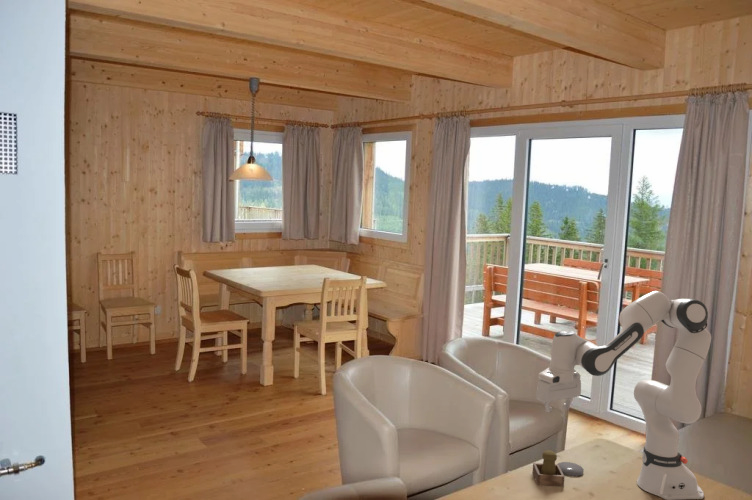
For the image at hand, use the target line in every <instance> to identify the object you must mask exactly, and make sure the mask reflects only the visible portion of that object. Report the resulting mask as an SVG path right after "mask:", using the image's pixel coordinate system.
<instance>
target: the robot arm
mask: <svg viewBox="0 0 752 500" xmlns="http://www.w3.org/2000/svg"><path fill="white" fill-rule="evenodd" d="M708 312H709V311H708V308H707V306H706V305H705V303H703V302H702V301H701V300H698V299H695V298H677V299H669V297H668V296H667V295H666V294H665V293H663V292H661V291H660V290H659V291H658V290H653V291H651V292H648V293H646V294H644V295H642V296H640V297H638V298H636V299H635V300H634V301H632V302H630V303H629V304H628V305H626V306H625V307H624V308H623V309H622V310H621V311H620V313H619V317H618V319H619V325H620V327H621V331H619V333H618V334H617V335H615V336H614V337H613V338H612V339H611V340H610V341H609V342H607V343H606V344H605V345H602V346H599V345H597V344H595V343H594V342H591V341H590V340H588V339H585V338H583V337H581V336H580V335H578V334H576V332H575V331H572V330H560V331H558V332H556V333H555V334H554V336H553V338H552V340H551V342H552V343H551V347H550V348H551V349H550V356H551V357H550V361H549V367H547V368H546V369H543V370H542V371H540V372H539V373H538V375H537V377H538V379H539V380H538V381H537V384H536V391H535V398H536V400H537V401H539V402H541V403H543V405H544V407H545V409H544V411H545V412H546V413H552V407H551V406H550V404H551V402H554V401H561V400H565V402H564V403H563V406H562V408H563V409H564V410H569V409H570V405H571V404H572V402H573V399H574V398H578V397H580V396H581V393H582V381H581V374H580V373H579V372H578V371H575V367H576V366H580V367H581V368H583V369H584V370H585V371H586V372H587V373H588V374H590V375H592V376H596V377H600V376H604V375H605V374H607V373H608V372H609V371H611V369H612V368H613V366H614V364H615V363H616V361H618V360H619V359H620V358H621V357H622V356H623V355H624V354H625V353H627V352H628V351H629V350H630V349H632V347H634V346H635V345H636V344H637V343H638V342H639V341H640V340H641V339H642V338H643V336H644V334H645V333H646V332H647V331H648V330H650V329H651V328H652V327H653V326H655V325H656V324H657V323H659V322H661V323H662V324H664V325H665V326H667V327H669V328H671V329H673V328H674V329H677V331H678V337H677V340H676V342H675V343H674V346H673V347H672V350H671V352H670V353H669V356H668V358H667V360H666V362H665V369H666V371H667V372H668V374H669V375H670V382H669V385H667V384H665V383H663V382H660V381H658V380H654V379H645V378H644V379H641V380H640V381H638V382H637V383H636V385H635V386H634V389H633V398H634V400H635V401H636V403H637V404H638V406H639V407H640V409H641V412H642V415H643V417H644V422H645V431H646V432H645V444H644V445H645V446H643V452H642V466H641V469H640V472H639V476H638V478H637V480H636V484H637V486H638V487H639V488H640V489H641V490H643V491H645V492H648V494H649V493H650V494H652V495H655V496H658V497H660V498H662V499H663V500H696V499H697V500H702V499H704V497H705V496H704V495H705V494H704V491H703V490H702V488H701V487H700V486H699V485H698V481H697V477H696V476H695V474H694V473H693V472H692V471H691V470H690V469H689V468H688V467H687V466H686V464H687V463H688V462H689V461H688V458H686V457H685V456H683V455H682V454H681V453H680V452H679V445H680V432H679V430H678V429H677V427H676V426H675V425H674V423H673V422H678V423H681V424H686V425H691V424H694V423H696V422H697V421H698V420H699V419H700V417H701V414H702V404H701V402H700V400H699V398H698V395H697V390H696V387H697V386H696V383H697V378H698V376H699V374H700V371H701V369H702V366H703V365H704V363H705V360H706V358H707V355H708V353H709V350H710V346H711V342H712V334H711V332H710V331H709V330H708V329H706V328H707V327H708V319H709V318H708V317H709V313H708Z"/></svg>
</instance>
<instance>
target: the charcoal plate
mask: <svg viewBox="0 0 752 500" xmlns="http://www.w3.org/2000/svg"><path fill="white" fill-rule="evenodd" d="M557 464H558V465H559V467H560V469H561V471H562V472H563V474H564V476H568V477H581V476H583V475H584V471H585V470H584V468H583V467H582V465H579V464H577V463H574V462H570V461H569V462H568V461H561V462H559V463H557Z"/></svg>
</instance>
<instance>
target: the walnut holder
mask: <svg viewBox="0 0 752 500" xmlns="http://www.w3.org/2000/svg"><path fill="white" fill-rule="evenodd" d="M542 465H543V462H542V463H541V462H540V463H539V462H533V463H532V474H533V477H534V479H535V483H536V485H537V486H545V487H546V486H548V487H561V488H564V487H565V476H566V475H564V474H563V472H562V471H561V469H560V467H559V465H558V463H557V464H556V463H555V472H556V475H549V474H541V470H542Z"/></svg>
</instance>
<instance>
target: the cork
mask: <svg viewBox="0 0 752 500" xmlns="http://www.w3.org/2000/svg"><path fill="white" fill-rule="evenodd" d="M542 459H543V461H542V463H543V465H542V470H541V474H549V475H556V472H555V464H556V461H557V459H558V456H557V453H556V452H554V451H553V450H549V449H548V450H545V451H543V452H542Z"/></svg>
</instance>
